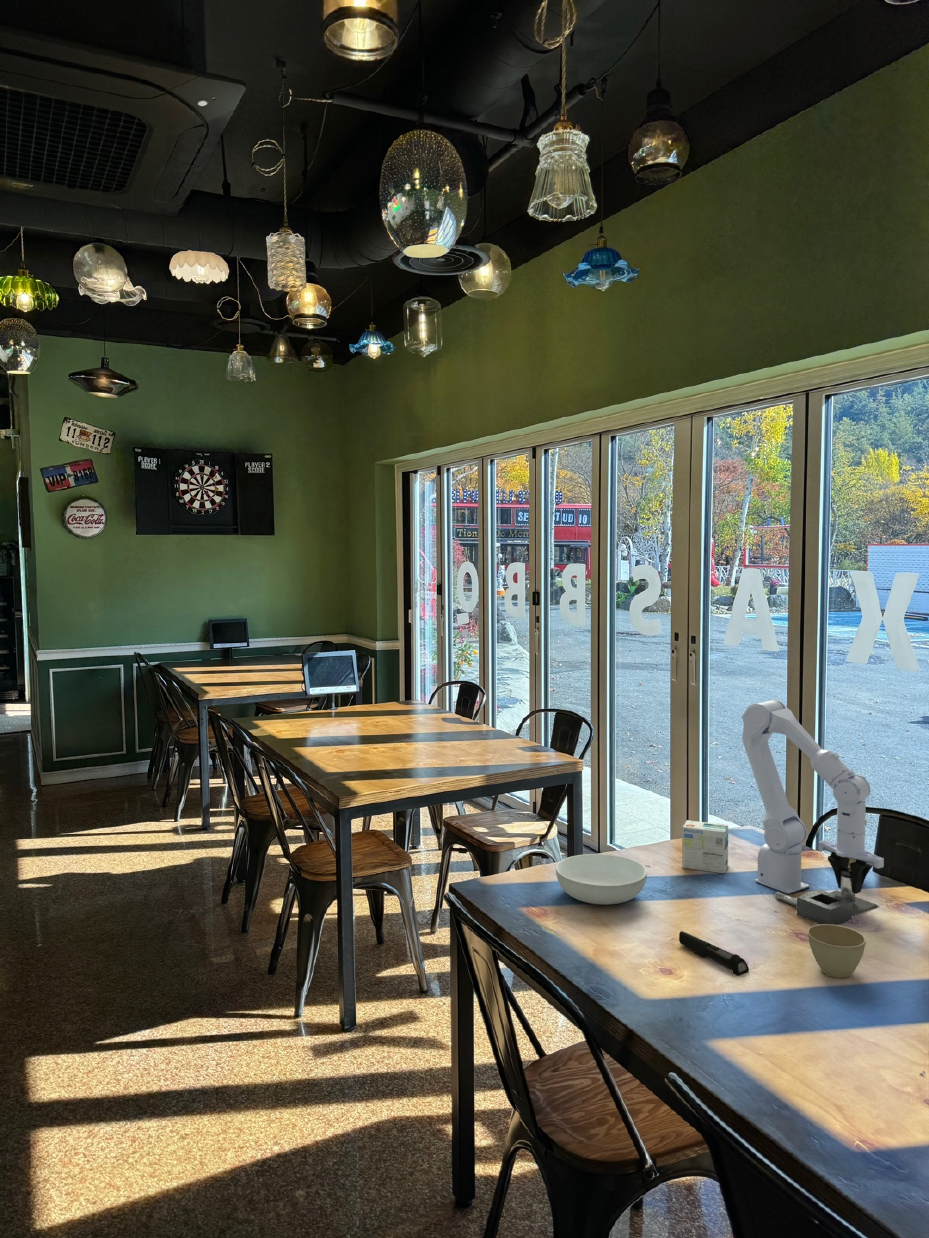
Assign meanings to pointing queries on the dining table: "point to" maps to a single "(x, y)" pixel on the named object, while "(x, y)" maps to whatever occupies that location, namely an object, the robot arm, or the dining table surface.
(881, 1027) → the dining table surface
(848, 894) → the spice shaker
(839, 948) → the flower pot
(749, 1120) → the dining table surface
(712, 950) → the electric trimmer
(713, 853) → the light bulb box
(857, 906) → the mat
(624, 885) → the serving bowl
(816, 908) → the grey hollow block
